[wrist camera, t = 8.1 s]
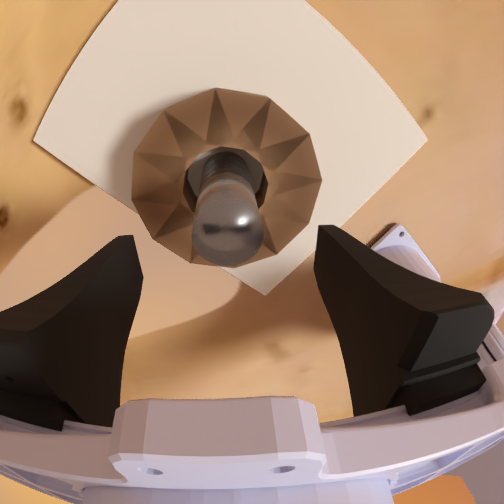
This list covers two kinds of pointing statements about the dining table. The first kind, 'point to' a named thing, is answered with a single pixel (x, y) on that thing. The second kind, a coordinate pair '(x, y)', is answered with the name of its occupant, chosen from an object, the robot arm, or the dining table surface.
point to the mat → (234, 78)
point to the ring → (234, 136)
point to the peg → (226, 212)
